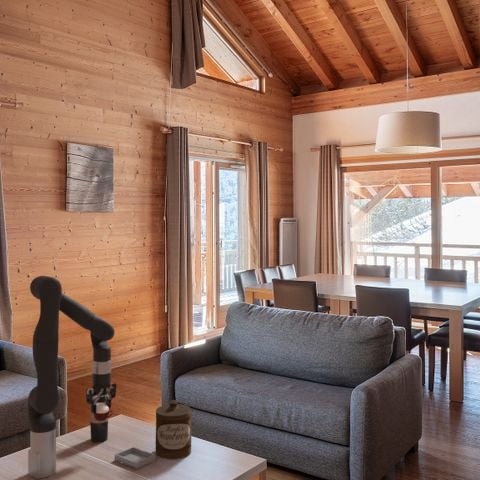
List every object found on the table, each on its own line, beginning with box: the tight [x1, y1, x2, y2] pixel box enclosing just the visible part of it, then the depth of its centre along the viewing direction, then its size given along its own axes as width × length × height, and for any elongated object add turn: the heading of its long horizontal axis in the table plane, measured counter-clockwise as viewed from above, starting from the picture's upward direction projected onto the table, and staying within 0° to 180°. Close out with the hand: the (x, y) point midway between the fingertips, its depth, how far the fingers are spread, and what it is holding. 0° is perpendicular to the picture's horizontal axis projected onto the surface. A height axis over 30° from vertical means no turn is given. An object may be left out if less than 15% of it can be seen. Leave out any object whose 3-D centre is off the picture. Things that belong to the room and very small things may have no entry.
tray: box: [114, 446, 156, 470], centre depth 230 cm, size 10×13×2 cm
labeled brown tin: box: [155, 399, 192, 460], centre depth 238 cm, size 15×15×22 cm
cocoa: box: [94, 403, 114, 421], centre depth 235 cm, size 10×6×12 cm, turn 85°
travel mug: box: [89, 394, 109, 443], centre depth 251 cm, size 8×8×20 cm
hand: (101, 411), depth 235 cm, fingers closed on cocoa, 6 cm apart
